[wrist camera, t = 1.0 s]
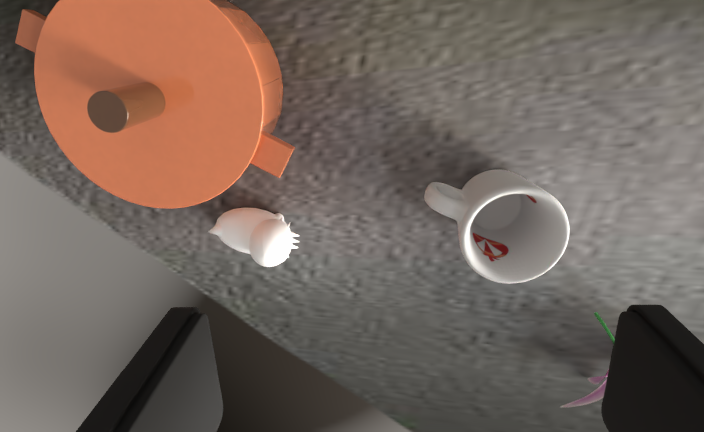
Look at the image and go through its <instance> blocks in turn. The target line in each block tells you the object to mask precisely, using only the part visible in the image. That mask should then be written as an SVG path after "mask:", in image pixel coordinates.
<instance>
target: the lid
mask: <svg viewBox="0 0 704 432" xmlns="http://www.w3.org/2000/svg"><path fill="white" fill-rule="evenodd" d="M34 77H35V87H36V93H37V97H38V102H39V105H40V108H41V111H42V114H43V117H44V120H45V122H46V124H47V126H48V128H49V130H50V132H51V134H52V136H53V138H54V139H55V141H56V142H57V144H58V146H59V147H60V149H61V150H62V151H63V152H64V154H65V155H66V156H67V158H68V159H69V160H70V161H71V162H72V163H73V164H74V165H75V166H76V168H77V169H78V170H79V171H80V172H82V173H83V174H84V175H85V176H86V177H87V178H89V179H90V180H91V181H92V182H94V183H95V184H97V185H98V186H99V187H101V188H102V189H104V190H106V191H108V192H109V193H111V194H113V195H115V196H117V197H119V198H122V199H124V200H126V201H129V202H132V203H136V204H139V205H142V206H148V207H154V208H169V209H171V208H183V207H188V206H193V205H197V204H200V203H202V202H205V201H208V200H210V199H212V198H214V197H216V196H217V195H219V194H221V193H222V192H224V191H225V190H226V189H228V188H229V187H230V186H231V185H232V184H233V183H234V182H235V181H236V180H237V179H238V178H239V177H240V176H241V175H242V174H243V173H244V171H245V170H246V169H247V167H248V166H249V165H250V163H251V161H252V159H253V157H254V155H255V153H256V151H257V148H258V146H259V143H260V140H261V136H262V131H263V127H264V117H265V99H264V91H263V85H262V79H261V76H260V73H259V69H258V66H257V63H256V61H255V58H254V56H253V54H252V51H251V49H250V47H249V46H248V44H247V42H246V40H245V39H244V37H243V35H242V34H241V32H240V31H239V30H238V28H237V27H236V26H235V24H234V23H233V22H232V20H231V19H230V18H229V17H228V16H227V15H226V14H225V13H224V12H223V11H222V10H221V9H220V8H219V7H218V6H217V5H216V4H215V3H214V2H212V1H211V0H59V1H58V2H57V3H56V5H55V6H54V7H53V9H52V10H51V12H50V13H49V15H48V16H47V18H46V20H45V22H44V25H43V27H42V29H41V32H40V35H39V38H38V41H37V46H36V52H35V60H34Z"/></svg>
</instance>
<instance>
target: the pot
mask: <svg viewBox="0 0 704 432" xmlns="http://www.w3.org/2000/svg"><path fill="white" fill-rule="evenodd" d="M211 1H212V2H214V3H215V4H216V5H217V6H218V7H219V8H220V9H221V10H222V11H223V12H224V13H225V14H226V15H227V16H228V17H229V18H230V19H231V20H232V22H233V23H234V24H235V26H236V27H237V28H238V30H239V31H240V32H241V34H242V35H243V37H244V39H245V40H246V42H247V44H248V46H249V47H250V49H251V51H252V54H253V56H254V58H255V61H256V63H257V66H258V69H259V73H260V76H261V79H262V85H263V91H264V99H265V117H264V127H263V131H262V136H261V140H260V143H259V146H258V148H257V151H256V153H255V155H254V157H253V159H252V161H251V164H253V165H255V166H257V167H259V168H261V169H263V170H265V171H267V172H269V173H270V174H272V175H274V176H276V177H278V178H280V177H281V175H282V174H283V172H284V170H285V168H286V165H287V163H288V161H289V159H290V157H291V155H292V153H293V151H294V149H295V147H294V146H292V145H290V144H288V143H286V142H284V141H282V140H281V139H279V138H277V137H275V136H273V135H271V134H272V132H273V130H274V128H275V127H276V124H277V121H278V119H279V116H280V114H281V107H282V99H283V82H282V75H281V70H280V66H279V63H278V59H277V57H276V55H275V52H274V50H273V48H272V46H271V44H270V41H269V40H268V39H267V37H266V36H265V34H264V33H263V31H262V30H261V29H260V27H259V26H258V25H257V24H256V23H255V22H254V21H253V20H252V19H251V18H250V17H249V16H248V15H247V13H246V12H244V11H243V10H241V9H240V8H238V7H236V6H235V5H233V4H232V3H230V2H228V1H226V0H211ZM46 18H47V17H46V16H44V15H42V14H40V13H38V12H36V11H34V10H28V9H23V10H22V14H21V18H20V23H19V27H18V32H17V36H16V41H15V43H16V44H18V45H20V46H22V47H24V48H26V49H28V50H30V51H32V52H34V53H35V52H36V46H37V41H38V38H39V35H40V32H41V29H42V27H43V25H44V22H45V20H46Z"/></svg>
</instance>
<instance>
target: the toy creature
mask: <svg viewBox="0 0 704 432" xmlns="http://www.w3.org/2000/svg"><path fill="white" fill-rule="evenodd" d="M289 226H290V223H289V224H286V223H285V221H284V217H283V215H282V214H280V213H276V214H273V213H271V212H268V211H266V210H262V209H258V208H246V207H244V208H237V209H232V210H230V211H227V212H225V213H223V214H222V215H221V216H220V217H219V218H218V219H217V222H216V225H215V226H214V227H213V228H212V229H211V230H210V231H209V233H212V234H216V235H218V236H219V238H220V239H221V240H222V241H223V242H224V243H225V244H227V245H228V246H229V247H231V248H233V249H236V250H238V251H240V252H244V253H248V254H251V256H252V258H253V259H254V260H255V262H257V263H258V264H260V265H262V266H265V267H273V266H276V265H278V264H280V263H282V262H283V261H285V260H286V258H287V257H288V258H289V256H288V254H289V253H290V250H291V249H294V248H298V247H296V246H294V245H292V243H294V242H299V241H297V240H295V239H293V238H292V237H297V236H299V235H297V234H295V233H293V232H291V231H290V228H289Z"/></svg>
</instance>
